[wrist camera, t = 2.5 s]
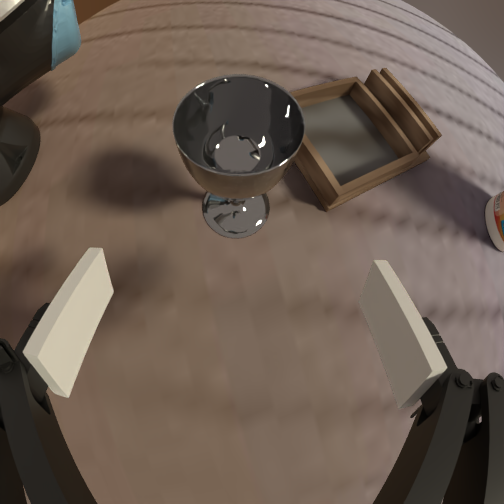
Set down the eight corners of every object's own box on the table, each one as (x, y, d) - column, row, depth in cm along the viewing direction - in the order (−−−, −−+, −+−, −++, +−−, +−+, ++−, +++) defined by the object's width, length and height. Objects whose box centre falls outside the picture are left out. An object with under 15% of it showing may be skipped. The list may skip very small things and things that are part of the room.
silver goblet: (216, 254, 29) (199, 197, 14) (187, 189, 30) (157, 97, 16) (286, 223, 30) (330, 148, 15) (253, 162, 31) (268, 63, 17)
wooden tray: (264, 118, 33) (269, 86, 27) (370, 88, 36) (385, 62, 30) (326, 211, 31) (345, 190, 25) (426, 160, 33) (449, 140, 28)
